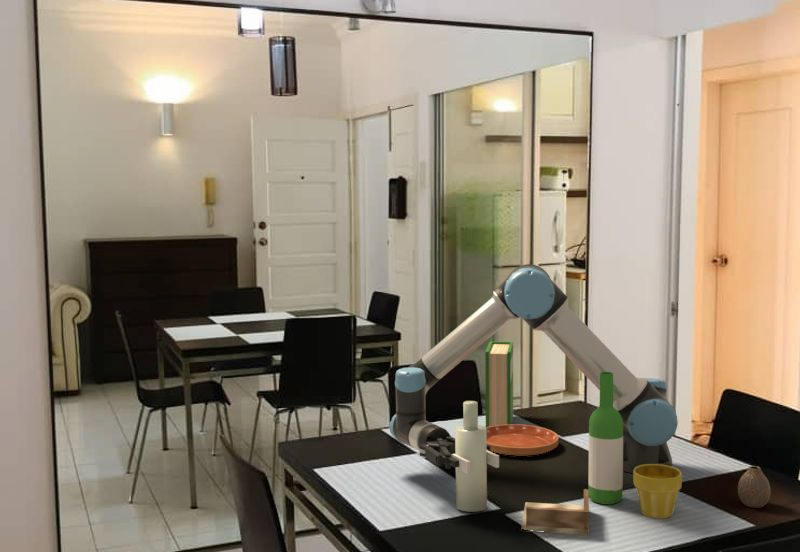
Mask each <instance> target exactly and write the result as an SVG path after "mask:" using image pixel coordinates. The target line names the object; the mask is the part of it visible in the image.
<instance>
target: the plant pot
mask: <svg viewBox="0 0 800 552" xmlns="http://www.w3.org/2000/svg"><path fill="white" fill-rule="evenodd" d="M632 478H633V479H632V480H633V482H632V483H633V486H635V488H636V491H637V496H638V500H639V506H640V511H641V513H642V514H643V515H644V516H645V517H647V518H651V519H667V518H668V519H669V518H670V517H671V516H673V513H674V510H675V506H676V501H677V498H678V494H679V491H680V490H681V489H682V484H683V473H682V471H681V470H680V469H679V468H677V467H674V466H673V465H672V466H668V465H662V464H644V465H639V466H637V467H635V468H634V470H633V473H632Z"/></svg>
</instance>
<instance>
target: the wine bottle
mask: <svg viewBox="0 0 800 552" xmlns="http://www.w3.org/2000/svg"><path fill="white" fill-rule="evenodd" d="M623 475H624V471H623V420H622V417H621V415H620V413H619V412H618V411H617V410H616V409H615V408H614V407H613V373H611V372H601V373H600V390H599V405H598V407H597V408H596V409H594V411H593V412H592V413H591V414H590V417H589V421H588V496H589V500H591V501H593V502H595V503H597V504H601V505H613V504H614V505H615V504H617V503H620V502H621V501H622V500H623V492H624V491H623V490H624V489H623V485H624V483H623V482H624V476H623Z"/></svg>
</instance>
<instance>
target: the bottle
mask: <svg viewBox="0 0 800 552" xmlns="http://www.w3.org/2000/svg"><path fill="white" fill-rule="evenodd" d="M462 403H463V404H462V407H463V408H462V409H463V410H462V411H463V413H462V414H463V416H462V417H463V419H462V420H463V422H462V423H463V424H462V425H458V426H456V427H455V428H454V435H455V436H454V438H455V454H456V455H458V456H460V457H462V458H464V459H466V460H468V461H470V473H469V474H467V473H465V472H463V471H461V470H459V469H457V468H455V507H456V508H457V509H458V510H460V511H464V512H480V511H484V510H485V509H487V507H488V485H487V484H488V483H487V482H488V477H487V476H488V475H487V474H488V473H487V470H488V469H487V468H488V467H487V465H488V464H487V453H486V426H484V425H480V424H479V423H478V421H479V420H478V419H479V418H478V416H479V415H478V414H479V413H478V411H479V410H478V409H479V408H478V407H479V406H478V401H475V400H465V401H463V402H462Z"/></svg>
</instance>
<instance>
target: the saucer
mask: <svg viewBox="0 0 800 552" xmlns="http://www.w3.org/2000/svg"><path fill="white" fill-rule="evenodd" d="M485 427H486V426H485ZM559 438H560V437H559V435H558V434H557V433H556V432H555V431H553V430H551V429H548V428H546V427H542V426H537V425H530V424H516V423H512V424H505V425H495V426H490V427H486V444H487V445H490V446H491V452H492V453H493V452H494V454H496V453H499V454H498V455H500V454H505V455H504V456H506V455H516V456H527V457H529V456H528V455H537V454H542V455H544V454H543V453H545V454H547V453H549V452H551V451H553V450H554V449H556V448H557V447H559ZM548 451H549V452H548ZM546 452H547V453H546ZM516 456H515V457H516ZM537 456H538V455H537Z"/></svg>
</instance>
